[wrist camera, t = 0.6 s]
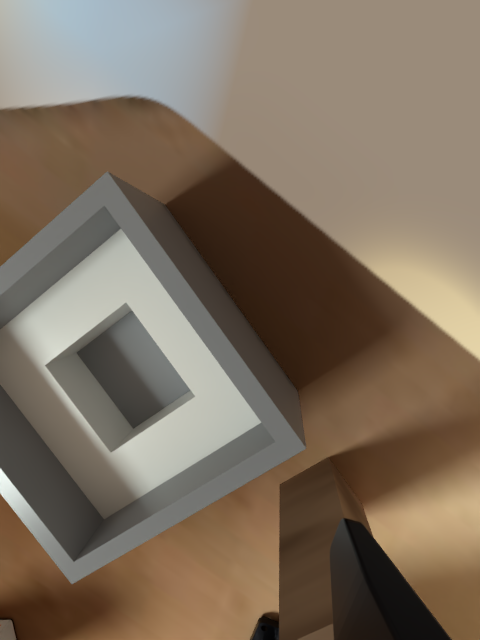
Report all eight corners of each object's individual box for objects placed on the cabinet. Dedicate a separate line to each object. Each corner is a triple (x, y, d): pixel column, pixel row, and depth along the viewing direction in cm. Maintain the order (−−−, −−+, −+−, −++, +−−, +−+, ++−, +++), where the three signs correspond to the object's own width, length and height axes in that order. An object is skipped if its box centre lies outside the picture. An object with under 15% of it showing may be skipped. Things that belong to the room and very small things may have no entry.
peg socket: (297, 391, 21) (306, 448, 15) (130, 495, 24) (71, 584, 17) (164, 204, 21) (107, 171, 14) (8, 334, 24) (-105, 360, 17)
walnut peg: (361, 503, 22) (425, 688, 12) (312, 529, 23) (335, 723, 13) (328, 457, 22) (367, 608, 12) (279, 484, 23) (278, 647, 13)
